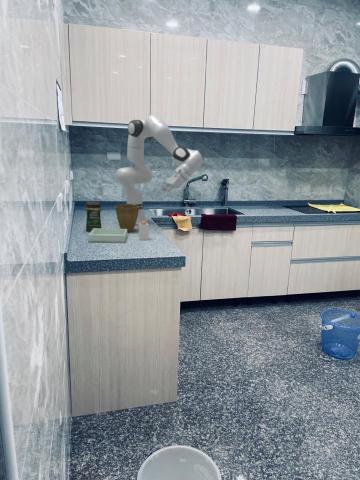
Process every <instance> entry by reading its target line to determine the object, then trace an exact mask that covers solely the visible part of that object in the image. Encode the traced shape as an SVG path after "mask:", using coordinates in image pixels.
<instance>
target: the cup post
mask: <svg viewBox="0 0 360 480" xmlns="http://www.w3.org/2000/svg"><path fill="white" fill-rule="evenodd" d="M138 240H139V241H148V240H149V222H148V223H146V225H141V223H139V225H138Z"/></svg>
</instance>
